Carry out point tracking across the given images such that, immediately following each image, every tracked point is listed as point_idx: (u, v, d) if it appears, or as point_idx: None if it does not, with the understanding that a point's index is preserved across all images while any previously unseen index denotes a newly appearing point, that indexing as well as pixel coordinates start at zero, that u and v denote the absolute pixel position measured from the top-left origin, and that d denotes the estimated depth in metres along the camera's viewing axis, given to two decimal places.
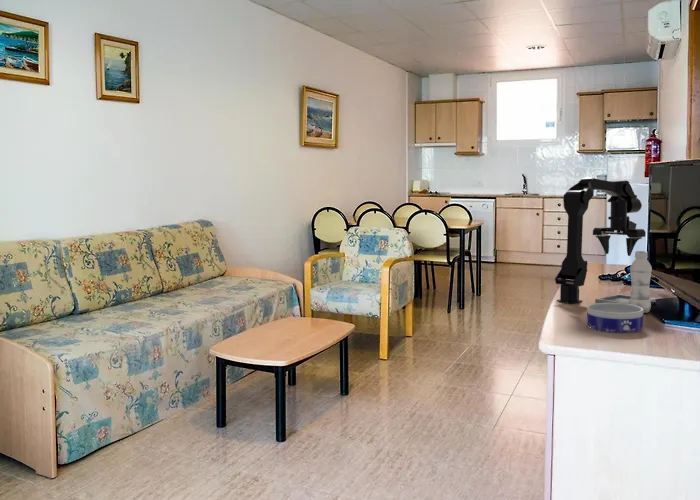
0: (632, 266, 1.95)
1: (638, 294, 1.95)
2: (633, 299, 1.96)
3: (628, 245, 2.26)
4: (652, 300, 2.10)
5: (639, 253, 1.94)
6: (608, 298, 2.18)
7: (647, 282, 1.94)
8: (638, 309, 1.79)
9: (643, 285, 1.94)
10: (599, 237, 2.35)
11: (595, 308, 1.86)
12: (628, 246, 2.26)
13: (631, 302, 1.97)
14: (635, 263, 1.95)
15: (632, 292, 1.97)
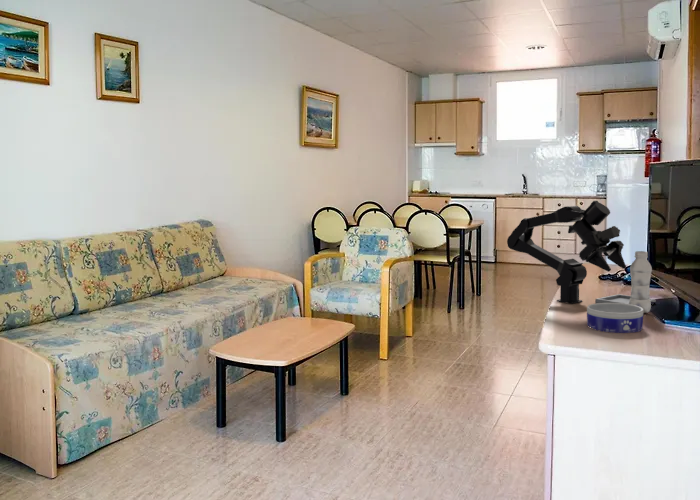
0: (632, 266, 1.95)
1: (638, 294, 1.95)
2: (633, 299, 1.96)
3: None
4: (652, 300, 2.10)
5: (639, 253, 1.94)
6: (608, 298, 2.18)
7: (647, 282, 1.94)
8: (638, 309, 1.79)
9: (643, 285, 1.94)
10: None
11: (595, 308, 1.86)
12: None
13: (631, 302, 1.97)
14: (635, 263, 1.95)
15: (632, 292, 1.97)
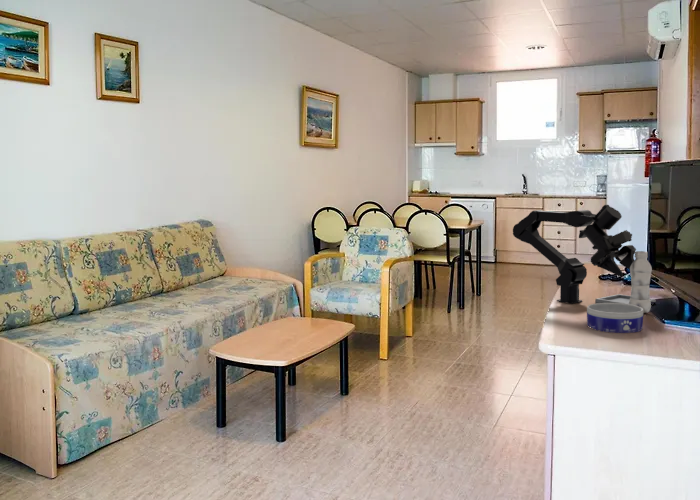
0: (632, 266, 1.95)
1: (638, 294, 1.95)
2: (633, 299, 1.96)
3: None
4: (652, 300, 2.10)
5: (639, 253, 1.94)
6: (608, 298, 2.18)
7: (647, 282, 1.94)
8: (638, 309, 1.79)
9: (643, 285, 1.94)
10: None
11: (595, 308, 1.86)
12: None
13: (631, 302, 1.97)
14: (635, 263, 1.95)
15: (632, 292, 1.97)
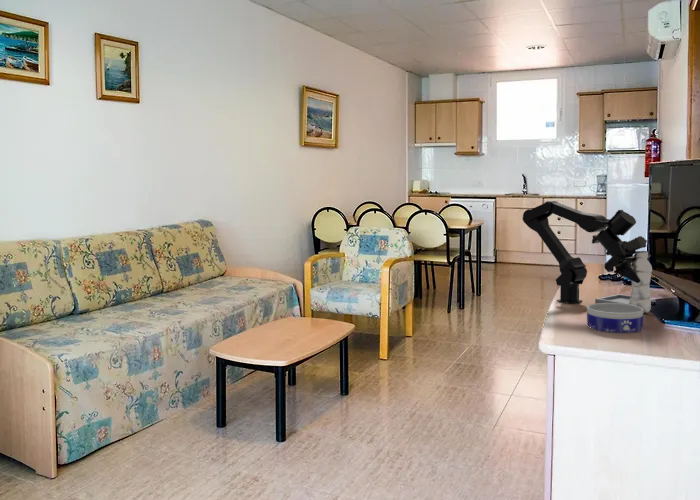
0: (632, 266, 1.95)
1: (638, 293, 1.95)
2: (633, 299, 1.96)
3: None
4: (652, 300, 2.10)
5: (639, 253, 1.94)
6: (608, 298, 2.18)
7: (647, 282, 1.94)
8: (638, 309, 1.79)
9: (643, 285, 1.94)
10: None
11: (595, 308, 1.86)
12: None
13: (631, 302, 1.97)
14: (635, 263, 1.95)
15: (632, 292, 1.97)
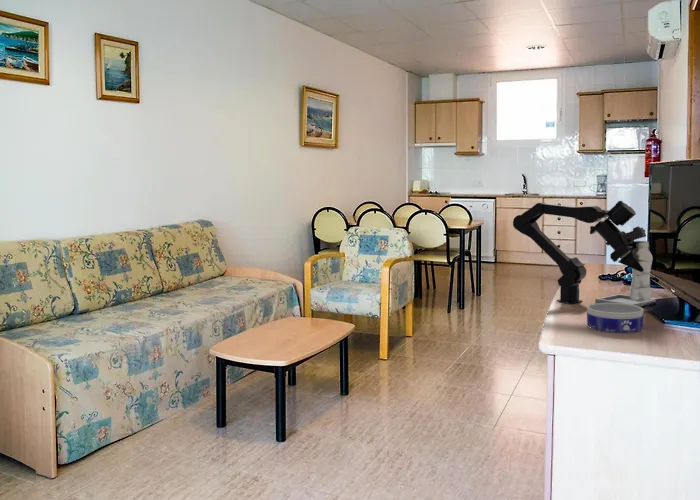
0: (635, 255, 2.00)
1: (641, 282, 2.00)
2: (635, 288, 2.01)
3: None
4: (652, 300, 2.10)
5: (642, 243, 1.99)
6: (608, 298, 2.18)
7: (649, 271, 2.00)
8: (638, 309, 1.79)
9: (645, 274, 2.00)
10: None
11: (595, 308, 1.86)
12: None
13: (633, 291, 2.01)
14: (638, 253, 2.00)
15: (634, 281, 2.02)
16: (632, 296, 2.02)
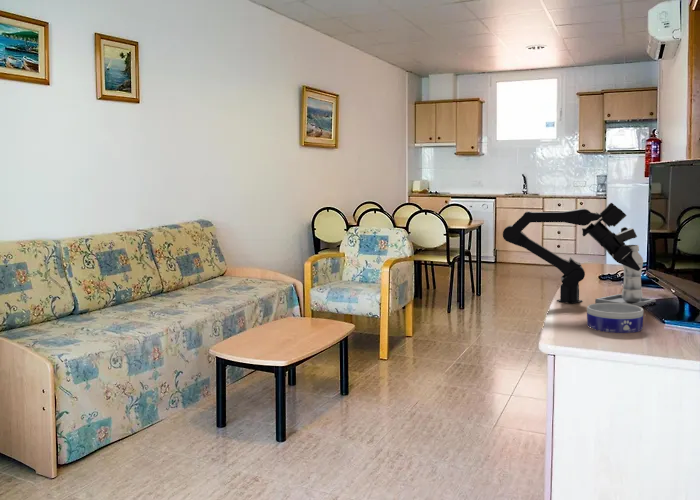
0: None
1: (635, 284, 2.09)
2: (630, 290, 2.09)
3: (625, 265, 2.07)
4: (652, 300, 2.10)
5: (634, 246, 2.08)
6: (608, 298, 2.18)
7: (640, 273, 2.10)
8: (638, 309, 1.79)
9: (639, 276, 2.09)
10: None
11: (595, 308, 1.86)
12: (627, 266, 2.07)
13: (629, 293, 2.10)
14: None
15: (628, 283, 2.10)
16: (627, 298, 2.10)
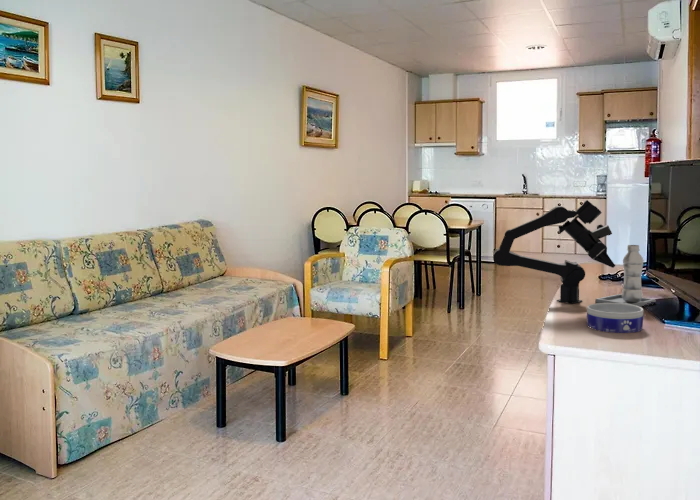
0: (629, 259, 2.09)
1: (636, 284, 2.09)
2: (631, 290, 2.10)
3: (600, 262, 2.09)
4: (652, 300, 2.10)
5: (635, 246, 2.09)
6: (608, 298, 2.18)
7: (641, 273, 2.10)
8: (638, 309, 1.79)
9: (639, 276, 2.09)
10: None
11: (595, 308, 1.86)
12: None
13: (629, 293, 2.10)
14: (632, 256, 2.09)
15: (629, 283, 2.10)
16: (627, 298, 2.10)
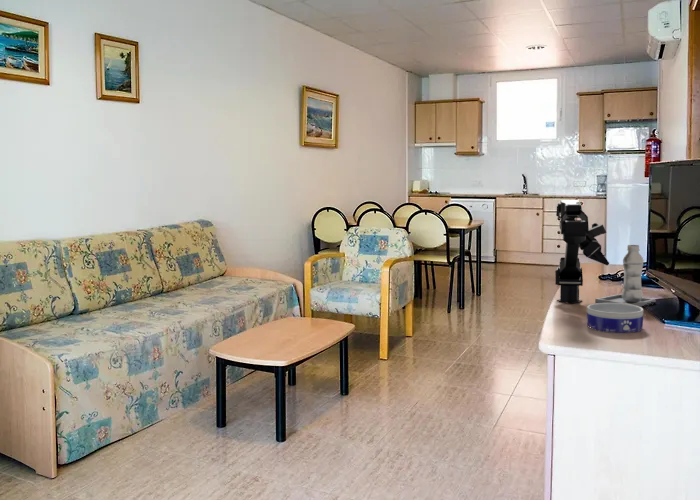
0: (629, 259, 2.09)
1: (636, 284, 2.09)
2: (631, 290, 2.10)
3: (595, 260, 2.15)
4: (652, 300, 2.10)
5: (635, 246, 2.09)
6: (608, 298, 2.18)
7: (641, 273, 2.10)
8: (638, 309, 1.79)
9: (639, 276, 2.09)
10: None
11: (595, 308, 1.86)
12: None
13: (629, 293, 2.10)
14: (632, 256, 2.09)
15: (629, 283, 2.10)
16: (627, 298, 2.10)
